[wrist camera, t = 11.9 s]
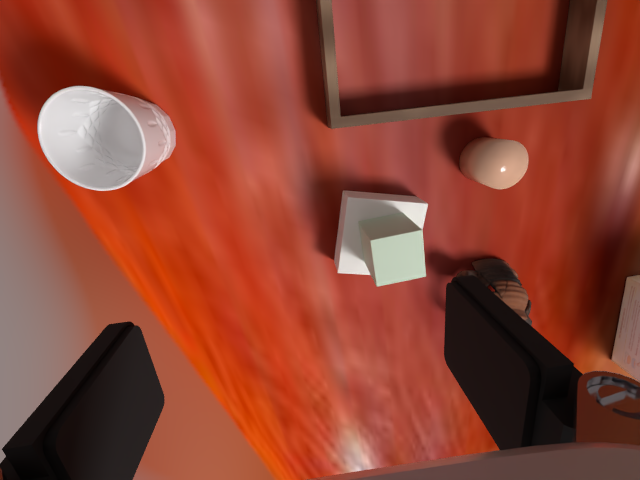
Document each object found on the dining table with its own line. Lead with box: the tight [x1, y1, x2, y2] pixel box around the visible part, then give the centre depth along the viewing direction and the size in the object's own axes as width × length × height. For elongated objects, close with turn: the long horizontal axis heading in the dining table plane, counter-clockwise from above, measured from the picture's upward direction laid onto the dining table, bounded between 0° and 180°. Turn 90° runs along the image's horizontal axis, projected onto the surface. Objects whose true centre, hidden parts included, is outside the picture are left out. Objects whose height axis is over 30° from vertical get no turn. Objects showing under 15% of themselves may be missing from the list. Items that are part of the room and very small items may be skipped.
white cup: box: [37, 86, 176, 191], centre depth 31 cm, size 8×8×10 cm
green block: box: [358, 212, 426, 286], centre depth 36 cm, size 5×5×6 cm
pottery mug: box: [456, 258, 532, 326], centre depth 44 cm, size 12×10×8 cm
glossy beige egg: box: [459, 137, 528, 189], centre depth 38 cm, size 5×5×5 cm
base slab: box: [334, 190, 428, 275], centre depth 40 cm, size 9×9×4 cm
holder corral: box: [316, 0, 607, 129], centre depth 33 cm, size 17×27×4 cm, turn 96°
